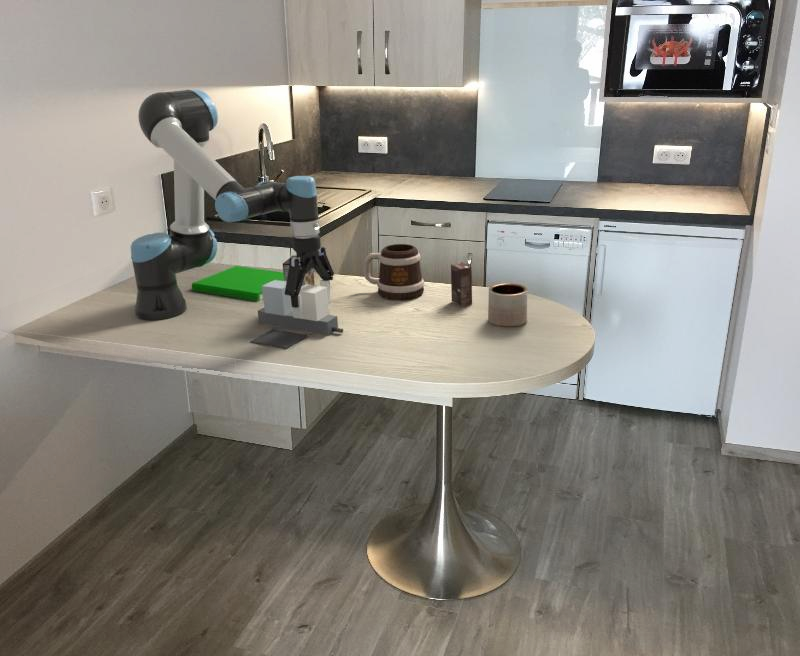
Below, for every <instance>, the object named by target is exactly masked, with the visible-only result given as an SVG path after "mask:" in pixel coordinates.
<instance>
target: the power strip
mask: <svg viewBox="0 0 800 656" xmlns="http://www.w3.org/2000/svg"><path fill="white" fill-rule="evenodd" d="M257 317H258V324H259V325H263V326H271V327H275V328H282V329H288V330H294V331H300V332H306V333H311V334H316V335H322V336H330V335H332V334H333V333H340V334H343V333H344V328H340V327H339V322H338V321H339V320H338V316H337V315H332V314H329V315H327V316H325V317H323V318H322V319H320V320H318V321H313V320H307V319H300V318H293V312H291V313H289V314H287V315H285V316H282V315H276V314H270V313H265V310H264V307H262V308H260V309H258V310H257Z"/></svg>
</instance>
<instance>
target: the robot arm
mask: <svg viewBox="0 0 800 656" xmlns="http://www.w3.org/2000/svg"><path fill="white" fill-rule="evenodd" d="M218 115H219V114H218V110H217V107H216V105H215V102H214V101H213V100H212V98H211V97H210V95H209V94H208V93H206V92H204V91H203V90H200V89H183V90H175V91H162V92H156V93H155V92H154V93H151V94H150V95H148V96H147V97H146V98H145V99H144V100H143V101H142V102H141V105H140V106H139V109H138V116H137V118H138V122H139V123H138V124H139V127H140V130H141V131H142V133H143V135H144V136H145V137H146V139H147V140H148V141H149V142H150V143H151V144H152V145H153V146H154V147H156V148H159V149H162V150H163V151H165V153H167V155H168V156H170V158H172V159H173V179H174V180H173V181H174V182H173V183H174V186H173V188H174V221H173V222H172V223H171V224H170V226H169V230H170V233H169V234H168V233H166V232H154V233H149V234H145V235H142V236H140V237H137V238H136V239H134V240H133V241H132V243H131V244H130V259H131V261H132V268H133V273H134V277H135V283H136V288H137V293H136V298H135V299H136V302H135V306H134V312H135V316H136V318H138V319H140V320H146V321H147V320H149V321H154V320H155V321H156V320H157V321H158V320H165V319H170V318H174V317H177V316H180V315H181V314H183V313H185V312H186V311H187V309H188V307H187V301H186V299H185V298H184V295H183V293H182V291H181V290H180V288H179V285H178V281H177V274H180V273H183V272H186V271H190V270H193V269H196V268H201V267H204V266H205V265H207V264H208V265H209V263H211V262H212V261H213V260H214V259H215V258H216V255H217V252H218V240H217V238H215V233H214V232H213V231H212V229H210V226H209V224H207V223H206V221H205V192H206V193H207V194H208V195H209V196H210V197H211V198H212V199H213V200H214V201H215V202H214V208H215V212H216V213H218V214H217V216H218V217H219V218H220V219H221V220H222V221H224V222H225V223H233V222H240V221H244V220H247V219H250V218H255V217H258V216H262V215H265V214H270V213H273V212H285V213H288V214H289V221H290V222H289V224H290V234H291V236H292V237H291V243H292V250H293V251H294V252H295V253H296V255H297V257H296V258H290V257H289V258H290V259H289V258H288V259H289V271H288V277H287V282H286V288H285V295H289V296H291V305H292V308H293V318H300V319H302V318H303V310H302V300H301V295H299V292H300V289H301V287H302V284H303V281H304V278H305V275H306V274H307V273H308V270H311V269H312V268H313V270H314V271H315V272H316V273H317V275H318V276H319V277H320V280H319V286H323V287H327V292H328V304H331V303H332V299H331V283H330V281H333V280H334V275H335V273H334V269H333V268H332V264H331V263H330V261H329V258H328V255H327V252H326V248H325V247H322V243H321V242H322V241H321V236H320V235H319V234H320V224H319V211H318V209H319V208H318V192H317V186H316V181H315V178H314V177H313V176H309V175H294V176H291V177H288V178H287V179H286V182H277V181H272V180H271V181H270V180H269V181H261V182H258V183H257V184H255V186H251V187H243V186H242V185H241V184H240V183H239V182H238V180H236V179H235V177H233V176H232V175H231V174H230V173H229V172H227V170H225V168H224V167H222V166H221V165H220V164H219V163H218V162H217V161H216V160H215V159H214V158H213V157H212V156H211V155H210V153H208V152H207V151H206V150H205V145H206V144H207V143H208V142H209V141H210V132H211V131H213V130H214V129H215V128H216V126H217V125H218V121H219V116H218ZM300 267H301V269H300ZM289 290H290V291H289ZM295 290H296V291H295Z"/></svg>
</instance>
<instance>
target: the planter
mask: <svg viewBox="0 0 800 656" xmlns="http://www.w3.org/2000/svg"><path fill="white" fill-rule="evenodd" d="M487 304H488V307H487V308H488V310H487V319H488V321H489V322H490V323H491V324H492V325H494V326H497V327H501V328H502V327H503V328H515V327H519V326H522V325H523V324H525V323H526V322H527V321H528V320H527V319H528V288H527V287H526V286H524V285H522V284H519V283H510V282H509V283H507V282H506V283H496V284H493V285H492V286H490V287H489V288H488V303H487Z"/></svg>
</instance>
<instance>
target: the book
mask: <svg viewBox="0 0 800 656" xmlns="http://www.w3.org/2000/svg"><path fill="white" fill-rule="evenodd" d="M274 280H279V281H284V273H283V271H278V270H277V271H276V270H268V269H262V268H254V267H248V266H247V267H246V266H240V265H234V266H232V267H230V268H227V269H225V270H222V271H220V272H217V273H214V274H212V275H210V276H207V277H203V278H202V279H199V280H197V281H193V282H192V284H191V290H192V291H194V292H199V293H206V294H212V295H218V296H223V295H224V296H225V297H231V298H237V299H242V300H248V301H255V302H260V301H261V300H263V292H262V286H263V285H265V284H267V283H269V282H271V281H274Z"/></svg>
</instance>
